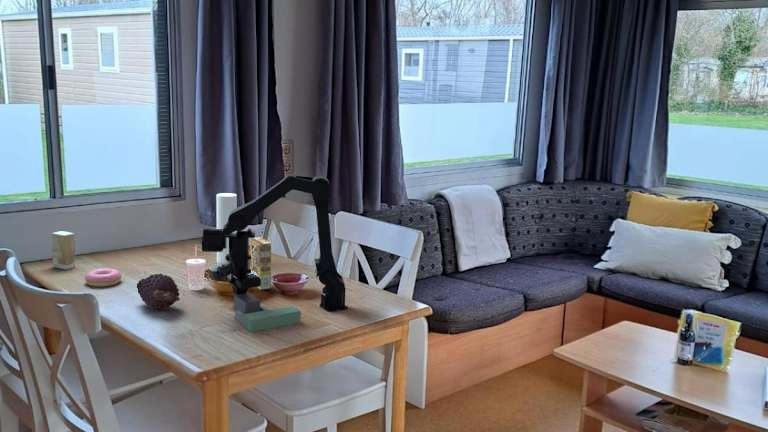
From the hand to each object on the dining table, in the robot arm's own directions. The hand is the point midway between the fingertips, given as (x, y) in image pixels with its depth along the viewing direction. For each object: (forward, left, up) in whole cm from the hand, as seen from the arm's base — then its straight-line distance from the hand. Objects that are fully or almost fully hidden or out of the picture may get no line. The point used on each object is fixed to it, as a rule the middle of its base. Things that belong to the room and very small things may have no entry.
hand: (238, 303), depth 199 cm
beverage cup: (+4, -24, -2) cm, 25 cm away
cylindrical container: (-17, -50, -2) cm, 53 cm away
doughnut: (+28, -43, -2) cm, 51 cm away
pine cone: (+20, -11, -2) cm, 23 cm away
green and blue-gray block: (-2, +14, -2) cm, 14 cm away
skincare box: (+35, -67, -2) cm, 76 cm away
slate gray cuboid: (0, +6, -2) cm, 6 cm away
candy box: (-15, -17, -2) cm, 23 cm away
